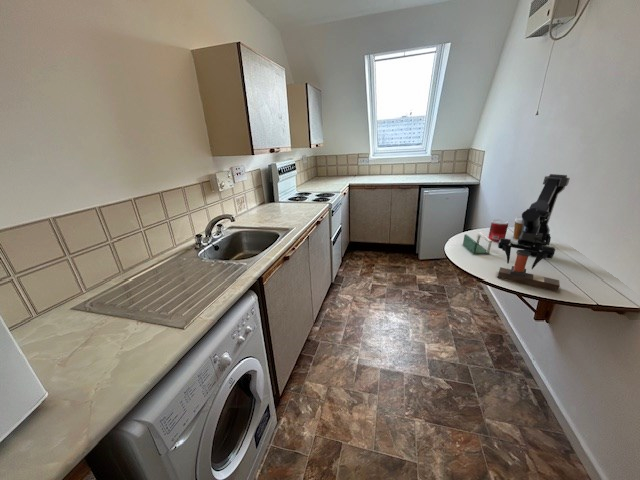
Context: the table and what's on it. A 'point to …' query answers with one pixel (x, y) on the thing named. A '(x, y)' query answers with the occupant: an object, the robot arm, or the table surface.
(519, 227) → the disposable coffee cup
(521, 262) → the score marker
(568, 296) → the table surface
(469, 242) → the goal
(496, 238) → the canned food
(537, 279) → the rail
